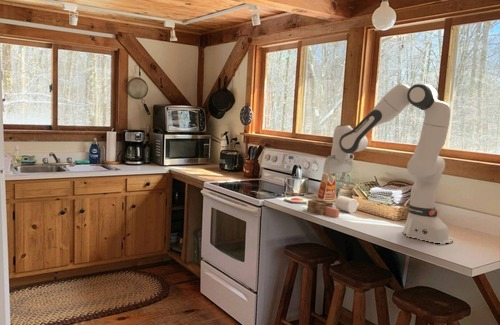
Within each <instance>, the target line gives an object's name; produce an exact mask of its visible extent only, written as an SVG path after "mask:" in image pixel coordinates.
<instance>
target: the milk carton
mask: <svg viewBox="0 0 500 325" xmlns="http://www.w3.org/2000/svg"><path fill="white" fill-rule="evenodd" d="M332 178H333V181H332V182H330V181H329V177H328V173H324V171H323V172H322V175H321V179H320V184H319V189H318V192H317V196H316V199H320V200H324V201H328V202H334V201H336V199H337V181H336V180H337V179H336V175H335V173H333V175H332Z"/></svg>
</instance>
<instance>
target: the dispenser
mask: <svg viewBox="0 0 500 325" xmlns="http://www.w3.org/2000/svg"><path fill="white" fill-rule="evenodd" d="M333 204H334V202H333V201H324V200H320V199H317V198H316V199H309V200H307V210H306V211H307V212H309V213H312V214H315V215H319V216H324V215H325V206H328V207H332V208H333Z"/></svg>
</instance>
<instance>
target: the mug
mask: <svg viewBox="0 0 500 325" xmlns="http://www.w3.org/2000/svg"><path fill="white" fill-rule="evenodd" d="M359 205H360V204H359V202H358V201H357V200H356V199H354V198H351V197H348V196H344V195H339V196H338V197H336V200H335V202H334V206H335V209H339V211H343V212H346V213H350V214H354V213H356V211H357V210H358V206H359Z"/></svg>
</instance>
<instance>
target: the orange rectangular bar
mask: <svg viewBox="0 0 500 325" xmlns="http://www.w3.org/2000/svg"><path fill="white" fill-rule="evenodd" d="M324 215H326V216H327V217H328V216H329V217H331V218H338V219H339V216H340V210H339V209H337V208H336V207H335V208H334V207H333V206H332V207H328V206H325V214H324Z"/></svg>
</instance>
